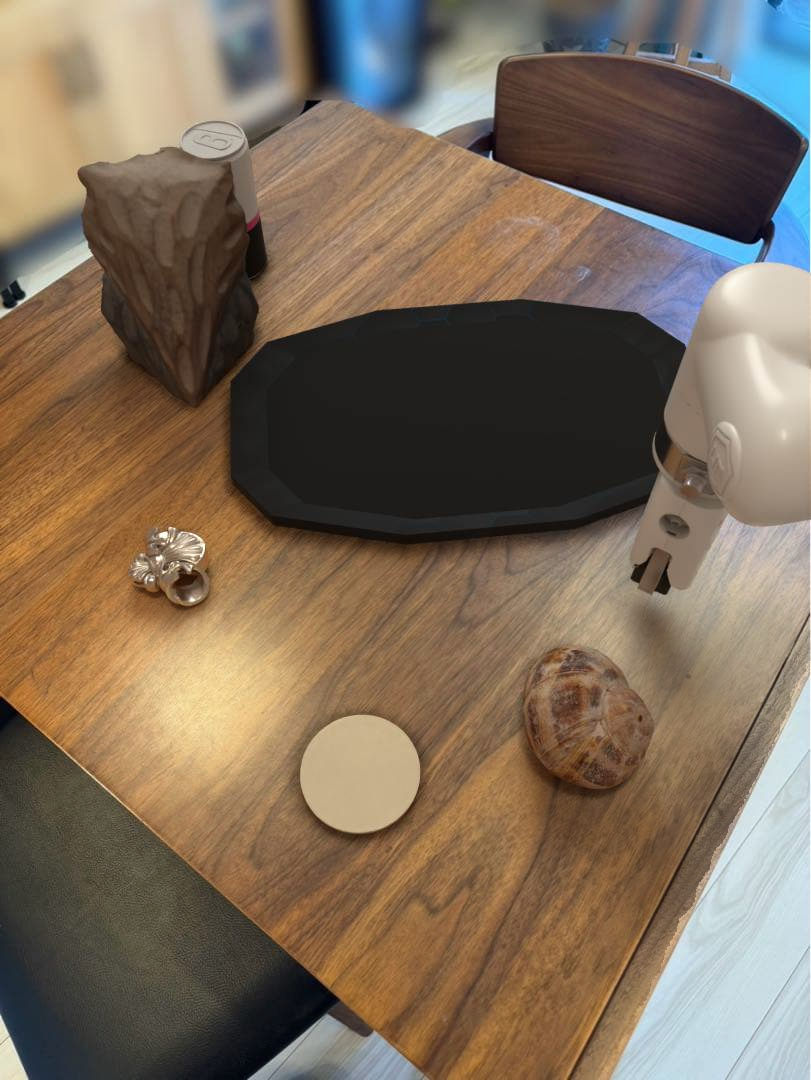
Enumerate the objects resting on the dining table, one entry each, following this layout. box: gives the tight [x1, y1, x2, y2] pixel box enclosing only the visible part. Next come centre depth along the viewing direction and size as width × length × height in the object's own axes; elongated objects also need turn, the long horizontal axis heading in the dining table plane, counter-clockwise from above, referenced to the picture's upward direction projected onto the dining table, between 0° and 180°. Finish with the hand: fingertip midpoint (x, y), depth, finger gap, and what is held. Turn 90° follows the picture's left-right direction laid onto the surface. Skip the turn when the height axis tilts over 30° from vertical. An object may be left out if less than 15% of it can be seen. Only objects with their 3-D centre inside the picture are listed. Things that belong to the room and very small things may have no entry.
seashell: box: [522, 644, 655, 790], centre depth 66 cm, size 10×9×10 cm
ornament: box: [127, 525, 211, 607], centre depth 75 cm, size 8×7×4 cm
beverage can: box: [178, 119, 268, 280], centre depth 91 cm, size 7×6×15 cm
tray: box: [229, 298, 687, 545], centre depth 85 cm, size 45×28×2 cm, turn 96°
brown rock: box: [76, 146, 260, 409], centre depth 83 cm, size 13×13×20 cm
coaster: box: [299, 714, 421, 835], centre depth 67 cm, size 9×9×1 cm
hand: (651, 580), depth 74 cm, fingers closed
